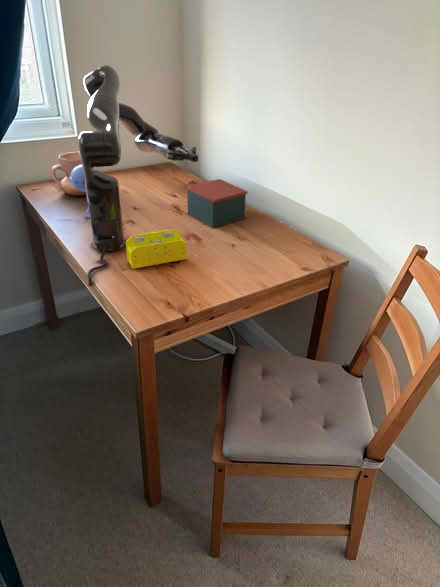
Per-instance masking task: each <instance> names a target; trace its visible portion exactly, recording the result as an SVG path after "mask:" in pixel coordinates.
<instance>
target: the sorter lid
mask: <svg viewBox="0 0 440 587" xmlns="http://www.w3.org/2000/svg"><path fill="white" fill-rule="evenodd" d="M187 189H189V190H191V191H193V192H195V193H197V194H199V195H201V196H203V197H205V198H207V199H209V200H211V201H213V202H218V201H222V200H226V199H230V198H233V197H237V196H241V195H245V194H246V195H248V194H249V193H248V192H249V191H247V190H246V189H243V188H241V187H239V186H237V185H234V184H232V183H230V182H227V181H225V180H223V179H221V178H218V179H214V180H209V181H205V182H200V183H196V184H193V185H188V186H187V188H186V190H187Z"/></svg>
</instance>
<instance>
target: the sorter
mask: <svg viewBox="0 0 440 587" xmlns="http://www.w3.org/2000/svg"><path fill="white" fill-rule="evenodd" d="M186 190H187V215H189V216H191V217H193V218H195V219H196V220H198V221H200V222H202V223H203V224H205V225H207V226H209V227H211V228H216V227H219V226H222V225H226V224H230V223H232V222H236V221H239V220H243V219H245V215H246V201H247V200H246V197H247V194H245V195H241V196H237V197H233V198H230V199H226V200H222V201H218V202H213V201H211V200H209V199H207V198H205V197H203V196H201V195H199V194H197V193H195V192H193V191H191V190H189V189H187V188H186Z"/></svg>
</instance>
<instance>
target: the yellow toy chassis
mask: <svg viewBox="0 0 440 587" xmlns="http://www.w3.org/2000/svg"><path fill="white" fill-rule="evenodd" d="M187 248H188V247H187V242H185V241H184V239H183V238H182V233H181V232H180V231H178V230H177V229H175V228H171V229H165V230H159V231H152V232H145V233H140V234H134V235H131V236H130V237H128V239H127V240H125V249H126V260H127V262H128V263H129V265H130V266H131V269H139V268H144V267H149V266H158V265H161V264H166V265H167V264H168V263H171V262H178V261H182V260H183V261H184V260H187V258H188V257H187V255H188V254H187V253H188V252H187V251H188V249H187Z"/></svg>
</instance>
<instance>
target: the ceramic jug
mask: <svg viewBox="0 0 440 587" xmlns="http://www.w3.org/2000/svg"><path fill="white" fill-rule="evenodd" d="M58 161H59V163H60V164H55V165H53V166H52V167H51V169H50V174H51V177H52V179H53V181H54V182H55V183H56V184H57V186H58V188H59V189H60V190H61V191H62V192H63V193H64V194H67V195H71V196H86V192H85V191H80V190H78V189H76V188H75V187H74V186H73V184H72V183H71V180H70V176H71V173H72V171H73V169H74V168H75V167H77V166H79V165H82V161H81V156H80V151H79V150H78V151H70V152H63V153H60V154H59V155H58ZM56 170H60V171H62V172H64V173H65V174H66V176H65V177H64V178H62V179H61V180H60V181H59V178H58V177H57V176H56Z"/></svg>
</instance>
